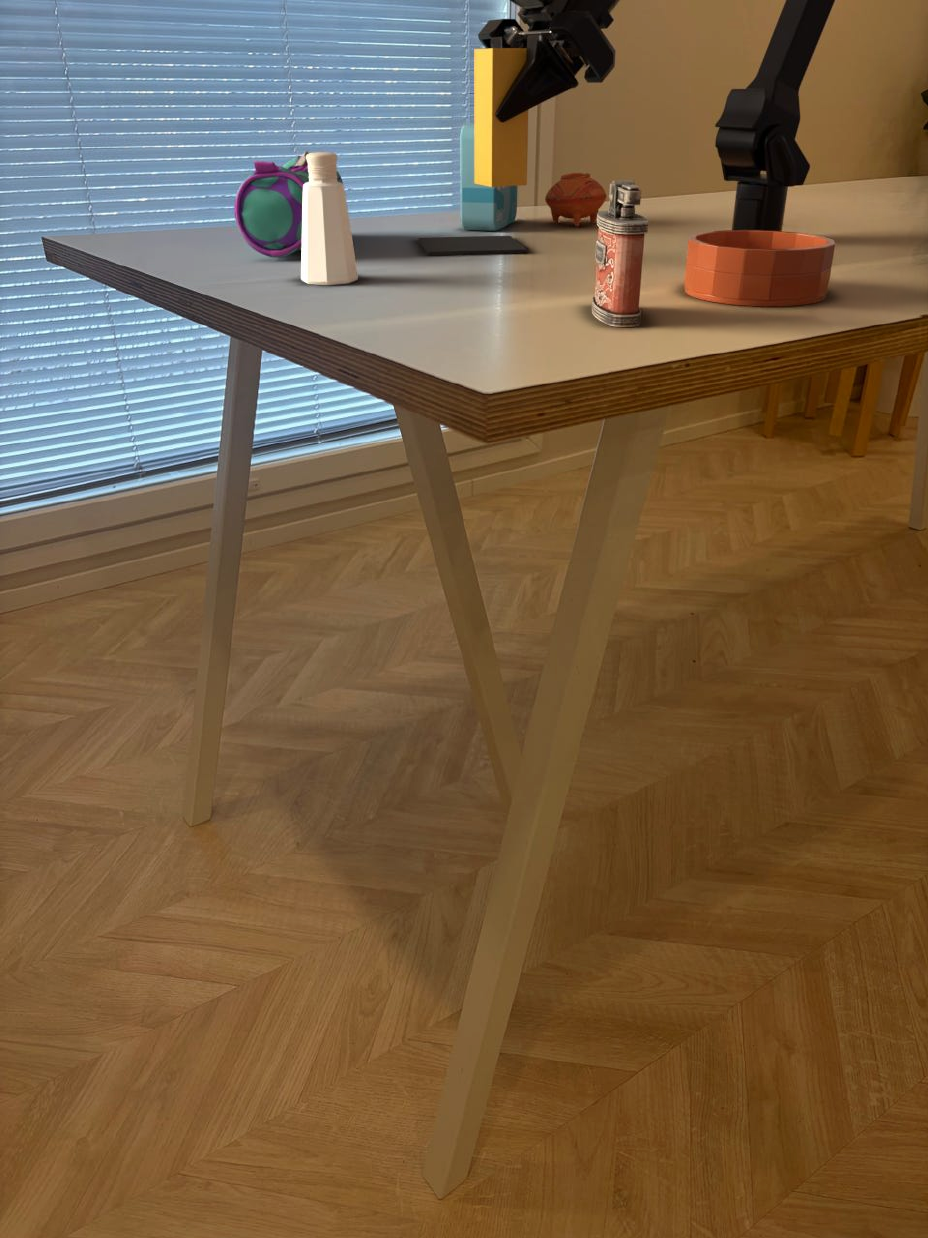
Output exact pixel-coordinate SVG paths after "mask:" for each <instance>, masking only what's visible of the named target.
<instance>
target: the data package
mask: <svg viewBox="0 0 928 1238" xmlns="http://www.w3.org/2000/svg"><path fill="white" fill-rule="evenodd" d="M459 160H460V161H459V168H460V169H459V170H460V172H459V173H460V175H459V177H460V182H459V183H460V185H459V186H460V189H459V190H460V224H461V228H462V229H463V230H464V231H488V232H490V231H491V232H498V231H499V230H501V229H503V228H505V227H506V226H508V225H510V224H512V223H514V222H515V221H516V219H517V212H518V186H503V187H489V186H484V185H479V184H475V142H474V122H473V123H466V124H463V125H462V127H461V130H460V135H459Z"/></svg>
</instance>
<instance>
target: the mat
mask: <svg viewBox="0 0 928 1238" xmlns="http://www.w3.org/2000/svg"><path fill="white" fill-rule="evenodd" d="M417 241H418V243H419V245H420V246H421V247H422V249H423V251H424V252H425V253H426V255H427V256H461V255H462V256H463V255H464V256H465V255H467V256H468V255H500V254H501V255H502V254H503V255H506V254H507V255H508V254H509V255H510V254H528V249H527V248H526V247H525V246H524V245H522V244H521V243H520V242H518V241H517V240H516V239H515V238H514V237H512V236H511V235H477V236H476V235H475V236H473V235H472V236H432V237H430V236H429V237H425V236H424V237H417Z"/></svg>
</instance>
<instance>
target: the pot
mask: <svg viewBox="0 0 928 1238" xmlns="http://www.w3.org/2000/svg"><path fill="white" fill-rule="evenodd" d="M607 197H608V196H607V194H606V191H605V188H604V187H603V185H601V183H600V182H599V181H597V180H596V179H594V178H593V177H591V174H590V173H588V172H587V173H583V172H573V173H572V172H571V173H566V174H563V175H561V176H560V179H559V180H558V181H557V182H556V183H554V185H552V186H551V188H549V190H548V191H547V193H546V195H545V197H544V200H545V201H544V202H545V203H546V205H547V206H548V207H549V209H550V213H551V219H552V221H553V222H554V223H556V224H559V220H560V217H562V218H564V219H570V220H573V222H574V223H573V224H574V227H576V228H579V226H580V223H581V219H585V218H588V217H589V221H590V223H592V224H594V223H596V222H597V212H599V209H600V208H601V207H602V206H603V205H604V203H605V202H606V200H607Z"/></svg>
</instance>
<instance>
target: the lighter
mask: <svg viewBox="0 0 928 1238" xmlns="http://www.w3.org/2000/svg"><path fill="white" fill-rule="evenodd" d="M608 195H609V196H608V197H609V203H608V210H601V211H598V212H597V218H596V226H598V234H597V235H598V237H597V240H596V242H595V255H594V259H595V262H596V269H595V271H596V272H595V285H594V287H595V288H594V296H592V298H591V313H592V315H593V316H594V318H595V319H597V320H599V321H600V322H602V323H603V324H606V325H608V326H611V327H618V328H631V327H637V326H640V325H641V319H642V316H641V315H642V311H641V308H640V299H641V298H640V296H641V285H642V273H643V259H644V248H645V237H646V236H645V235H646V234H647V233H648V232H649V231H648V230H649V220H648V218H647V217H645V216H643V215H641V214H638V213H636V206H641V199H642V190H641V189H640V187H639V186H638V185H636V182H635V180H634V179H631V180H630V179H626V180H625V179H623V180H621V179H615V180H614V179H613V180H612V181H611V183H609V193H608Z"/></svg>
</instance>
